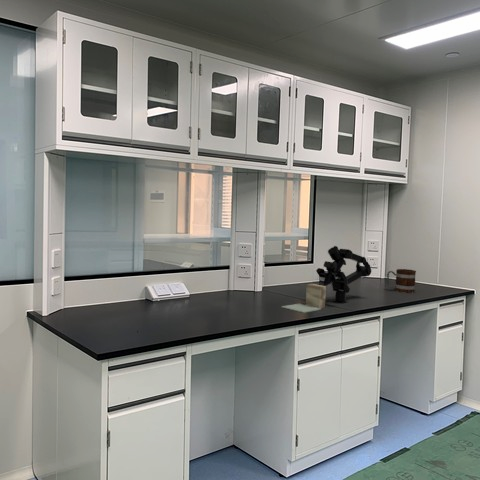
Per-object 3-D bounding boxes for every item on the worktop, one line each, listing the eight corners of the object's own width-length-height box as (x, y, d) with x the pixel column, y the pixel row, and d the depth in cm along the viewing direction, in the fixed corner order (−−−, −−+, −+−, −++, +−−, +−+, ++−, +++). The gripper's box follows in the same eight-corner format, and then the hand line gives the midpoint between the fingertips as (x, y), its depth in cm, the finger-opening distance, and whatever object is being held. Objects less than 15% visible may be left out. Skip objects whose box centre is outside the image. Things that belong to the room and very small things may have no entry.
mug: (412, 290, 339) (413, 269, 338) (417, 293, 326) (418, 272, 325) (384, 288, 341) (385, 268, 340) (388, 292, 328) (389, 270, 327)
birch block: (311, 304, 276) (312, 283, 275) (325, 307, 269) (326, 286, 268) (305, 305, 273) (306, 284, 272) (319, 308, 265) (320, 287, 264)
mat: (299, 304, 274) (299, 303, 274) (321, 309, 262) (321, 308, 262) (281, 307, 264) (281, 306, 264) (303, 312, 252) (303, 312, 252)
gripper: (318, 254, 284) (306, 274, 277) (344, 258, 270) (331, 278, 264) (326, 267, 290) (313, 286, 283) (351, 270, 276) (339, 291, 269)
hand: (324, 285), depth 275 cm, fingers closed
